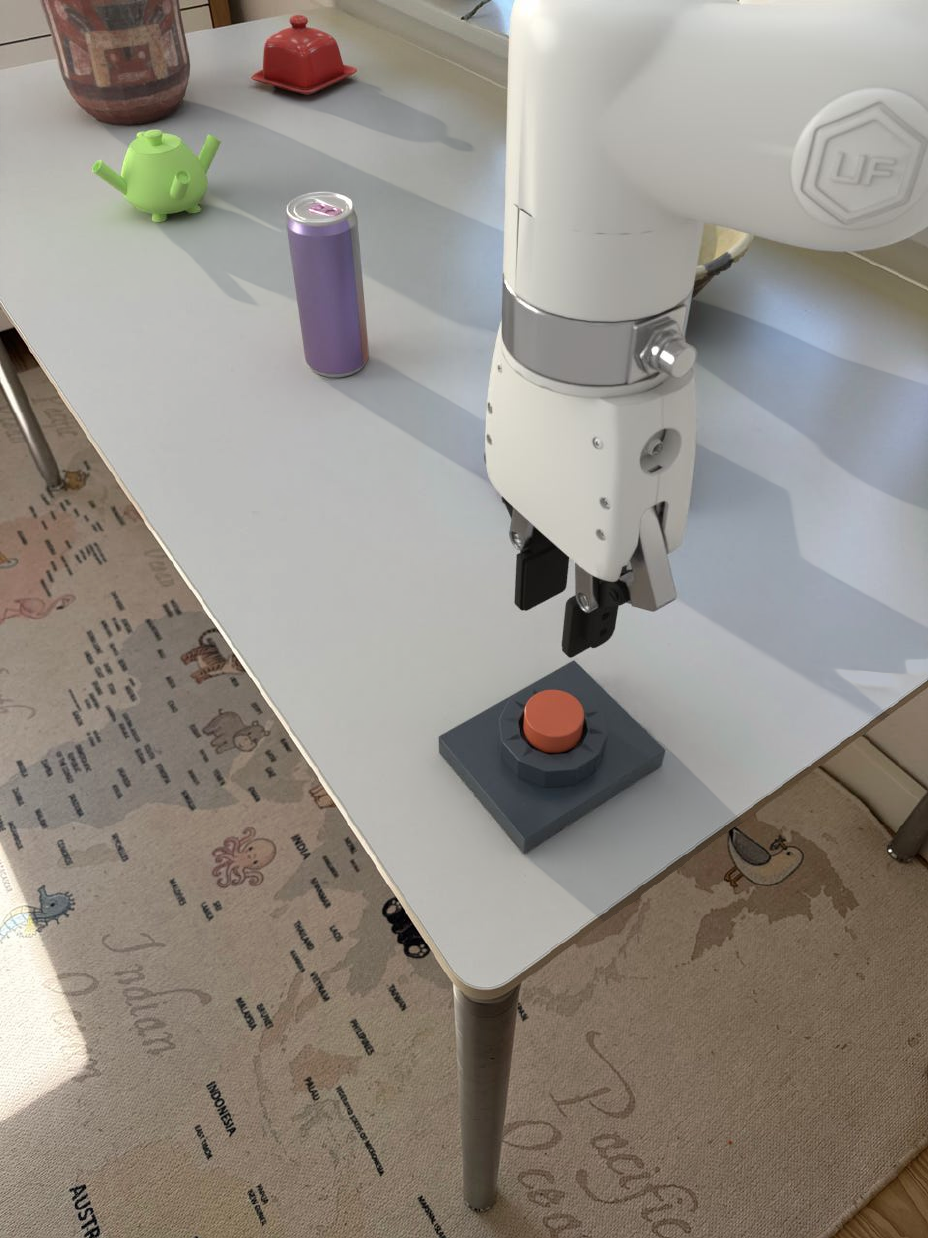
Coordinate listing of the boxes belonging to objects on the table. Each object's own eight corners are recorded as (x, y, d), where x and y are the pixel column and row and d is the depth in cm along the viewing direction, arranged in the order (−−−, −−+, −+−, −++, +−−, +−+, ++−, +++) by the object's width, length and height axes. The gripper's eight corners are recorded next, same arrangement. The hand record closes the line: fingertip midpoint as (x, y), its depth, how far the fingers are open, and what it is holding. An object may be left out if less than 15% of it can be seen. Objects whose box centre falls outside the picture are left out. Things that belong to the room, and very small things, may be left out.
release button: (557, 697, 63) (559, 680, 62) (594, 735, 61) (596, 718, 60) (511, 724, 62) (512, 706, 61) (547, 763, 60) (549, 746, 59)
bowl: (550, 267, 106) (555, 177, 99) (719, 266, 106) (737, 175, 99) (562, 360, 94) (570, 265, 87) (754, 359, 95) (776, 263, 88)
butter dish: (301, 62, 148) (294, -4, 142) (362, 78, 143) (357, 11, 137) (247, 86, 141) (237, 19, 135) (309, 104, 137) (301, 35, 131)
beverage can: (344, 387, 92) (326, 229, 81) (293, 367, 94) (269, 211, 83) (382, 356, 95) (370, 200, 84) (331, 338, 97) (313, 184, 86)
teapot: (146, 181, 121) (129, 107, 115) (235, 190, 119) (222, 116, 113) (103, 224, 114) (82, 147, 107) (197, 234, 112) (181, 157, 106)
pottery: (228, 104, 137) (202, -50, 124) (121, 145, 128) (80, -16, 115) (149, 73, 145) (117, -74, 132) (43, 110, 136) (-3, -45, 123)
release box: (572, 675, 69) (576, 641, 66) (662, 765, 64) (670, 732, 61) (438, 752, 64) (437, 719, 62) (523, 855, 59) (526, 823, 57)
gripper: (812, 379, 38) (722, 686, 51) (541, 214, 47) (526, 511, 60) (664, 451, 35) (610, 756, 48) (406, 260, 44) (421, 561, 58)
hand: (563, 617), depth 54 cm, fingers open, 3 cm apart
